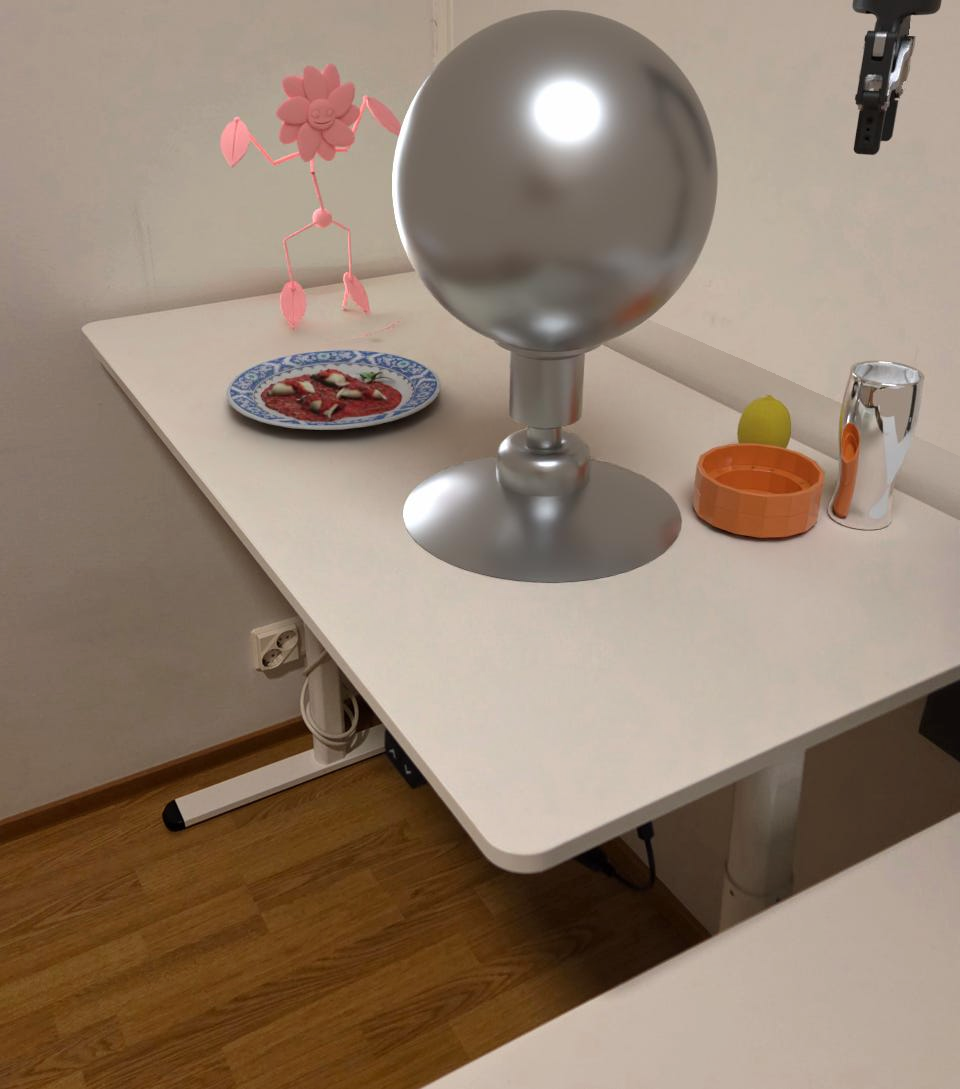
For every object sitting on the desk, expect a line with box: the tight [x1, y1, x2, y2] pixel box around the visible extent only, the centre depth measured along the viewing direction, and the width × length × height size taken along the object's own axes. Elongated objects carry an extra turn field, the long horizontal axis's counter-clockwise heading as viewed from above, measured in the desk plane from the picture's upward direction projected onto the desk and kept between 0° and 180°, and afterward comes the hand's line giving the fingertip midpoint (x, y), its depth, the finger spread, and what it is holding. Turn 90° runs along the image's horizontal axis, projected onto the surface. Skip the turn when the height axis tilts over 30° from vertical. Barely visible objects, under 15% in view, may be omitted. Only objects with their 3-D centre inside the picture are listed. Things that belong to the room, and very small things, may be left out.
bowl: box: [692, 443, 826, 538], centre depth 108 cm, size 12×12×5 cm
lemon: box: [736, 394, 792, 449], centre depth 118 cm, size 6×6×8 cm
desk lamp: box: [391, 9, 719, 583], centre depth 99 cm, size 28×28×45 cm
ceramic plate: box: [225, 349, 442, 431], centre depth 134 cm, size 26×26×3 cm
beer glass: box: [827, 360, 925, 531], centre depth 106 cm, size 7×7×15 cm
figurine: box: [220, 63, 402, 337], centre depth 152 cm, size 15×26×35 cm, turn 122°
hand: (872, 146), depth 105 cm, fingers open, 8 cm apart
